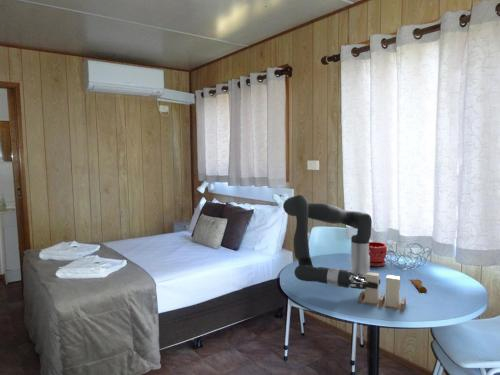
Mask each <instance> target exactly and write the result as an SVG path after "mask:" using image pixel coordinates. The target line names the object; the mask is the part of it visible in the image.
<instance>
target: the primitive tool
mask: <svg viewBox="0 0 500 375" xmlns="http://www.w3.org/2000/svg"><path fill="white" fill-rule="evenodd" d="M409 280H410V281H411V282H412V283H411V282H410V281H409V282H410V283H411V284H412V285H413V284H414V285H413V286H414V287H415V286H416V287H415V288H416V289H417V288H418V289H417V290H418V293H419V294H422V293H426V294H427V293H428V289H427V288H426V287H425V286H423V284H422V280H421V279H409Z"/></svg>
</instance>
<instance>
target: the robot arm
mask: <svg viewBox="0 0 500 375" xmlns="http://www.w3.org/2000/svg"><path fill="white" fill-rule="evenodd" d="M282 207H283V211H284V212H285V213H286V214H287V215H289V216H291V217H296V218H295V220H296V225H295V226H296V227H295V232H294V236H293V251H294V257H295V259H296V260H297V263H298V265H297V266H296V268H294V272H293V273H294V276H295V278H297V280H299V281H301V282H303V281H304V282H310V283H311V282H313V283H314V282H315V283H322V284H326V285H327V284H328V285H331V286H334V287H340V288H346V289H349V288H351V289H357V290H365V289H366V288H374V289H377V288H378V284H377V283H372V282H367V281H365V274H366V273H367V272H371V271H370V270H371V265H370V256H369V242H370V239H371V238H372V236H371V235H372V226H373V224H372V221H373V219H372V217H371V215H370V213H366V212H361V211H355V210H352V211H351V210H345V209H342V208H340V207H339V206H336V205H332V204H328V203H319V202H317V203H315V202H314V203H309V202H308V199H307V198H306V197H305V195H294V196H290V197H289V198H286V200H284V202H283V205H282ZM309 219H312V220H315V221H320V222H323V223H328V224H335V225H336V224H342V225H345V226H348V227H351V228H353V229H355V230H356V229H357V231H356V234H353V235H351V237H350V238H351V239H350V244H351V245H350V270H348V269H341V268H330V267H323V266H317V267H314V265H313V262H312V259H311V256H310V254H311V253H310V246H309V236H308V234H309V233H308V231H309V229H308V227H309V226H308V225H309ZM379 285H381V279H380V278H379Z"/></svg>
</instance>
